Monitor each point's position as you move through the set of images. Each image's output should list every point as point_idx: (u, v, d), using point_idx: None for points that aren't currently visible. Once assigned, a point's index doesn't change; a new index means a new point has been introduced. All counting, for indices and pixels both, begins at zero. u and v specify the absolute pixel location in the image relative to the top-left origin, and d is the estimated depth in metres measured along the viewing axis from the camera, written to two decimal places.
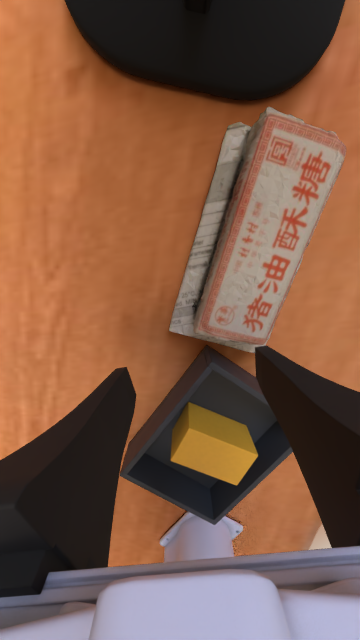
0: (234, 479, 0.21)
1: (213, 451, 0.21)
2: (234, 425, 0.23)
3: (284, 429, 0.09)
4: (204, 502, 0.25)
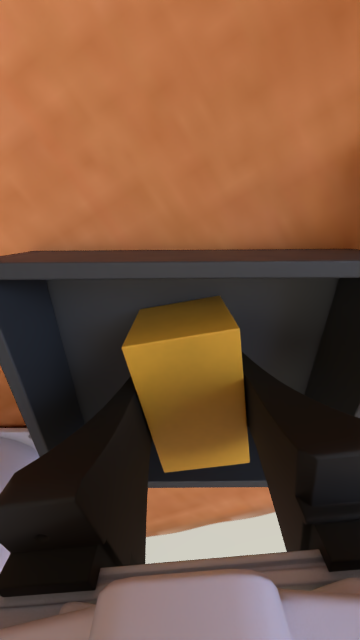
0: (175, 463, 0.10)
1: (210, 405, 0.09)
2: None
3: (252, 433, 0.09)
4: None
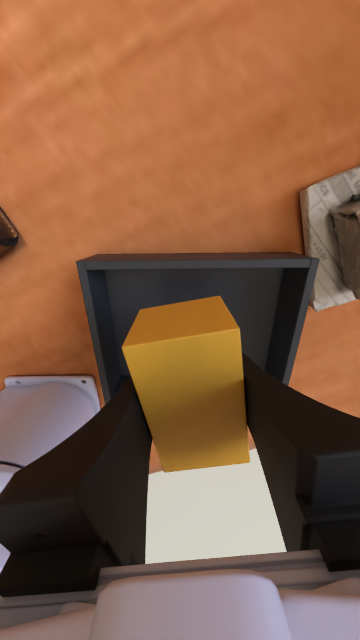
0: (175, 463, 0.10)
1: (210, 404, 0.09)
2: None
3: (252, 433, 0.09)
4: (113, 379, 0.20)
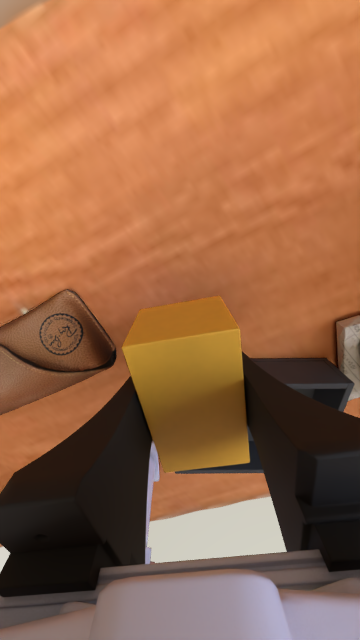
0: (175, 463, 0.10)
1: (211, 404, 0.09)
2: None
3: (252, 433, 0.09)
4: None
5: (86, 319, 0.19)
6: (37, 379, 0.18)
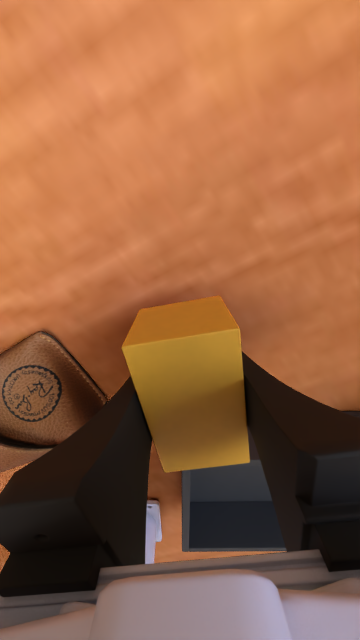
0: (175, 463, 0.10)
1: (210, 404, 0.09)
2: None
3: (252, 433, 0.09)
4: None
5: (66, 369, 0.15)
6: None
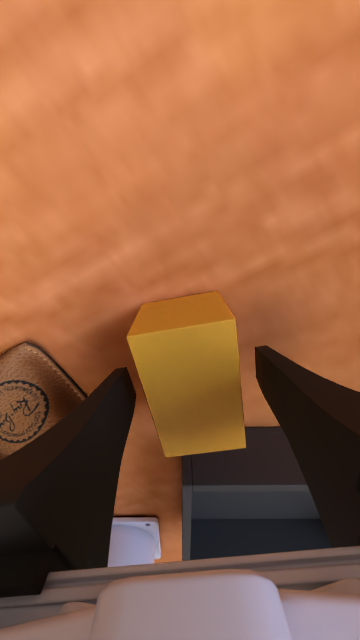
0: (176, 448, 0.11)
1: (209, 391, 0.09)
2: None
3: (284, 429, 0.09)
4: None
5: (55, 383, 0.13)
6: None
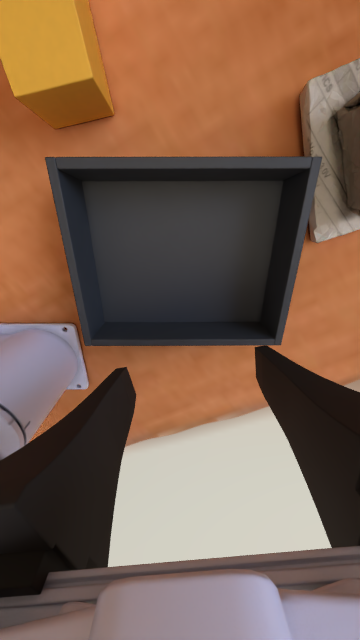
0: (20, 77, 0.11)
1: None
2: (101, 68, 0.13)
3: (284, 429, 0.09)
4: (94, 320, 0.18)
5: None
6: None
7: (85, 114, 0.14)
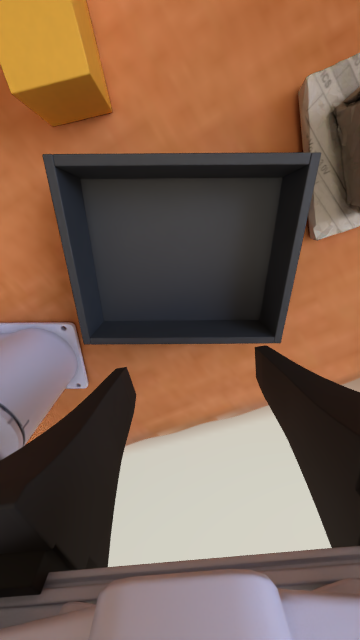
0: (17, 73, 0.11)
1: None
2: (99, 65, 0.13)
3: (284, 429, 0.09)
4: (93, 318, 0.18)
5: None
6: None
7: (82, 111, 0.14)
